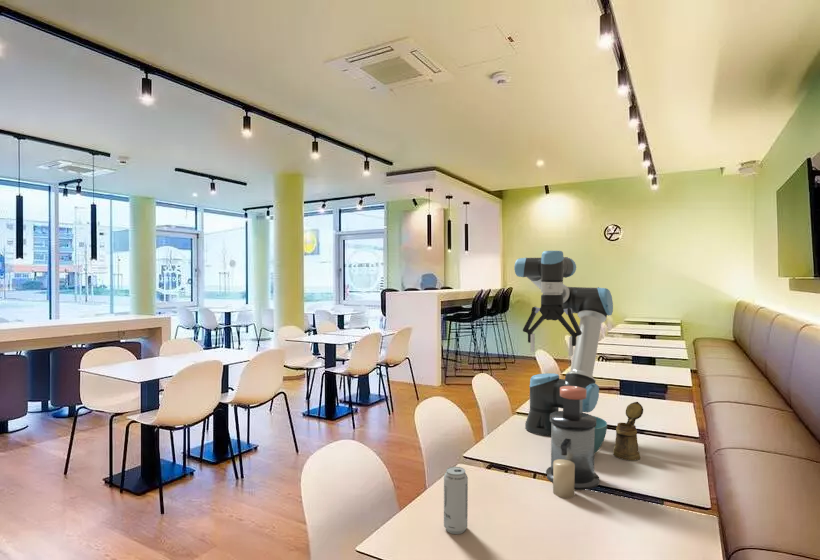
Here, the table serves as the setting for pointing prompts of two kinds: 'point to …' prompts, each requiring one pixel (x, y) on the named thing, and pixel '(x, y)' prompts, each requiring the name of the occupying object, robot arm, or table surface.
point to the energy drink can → (455, 500)
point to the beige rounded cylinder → (563, 478)
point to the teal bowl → (599, 433)
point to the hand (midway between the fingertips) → (551, 353)
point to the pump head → (573, 392)
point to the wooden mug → (628, 434)
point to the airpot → (574, 442)
